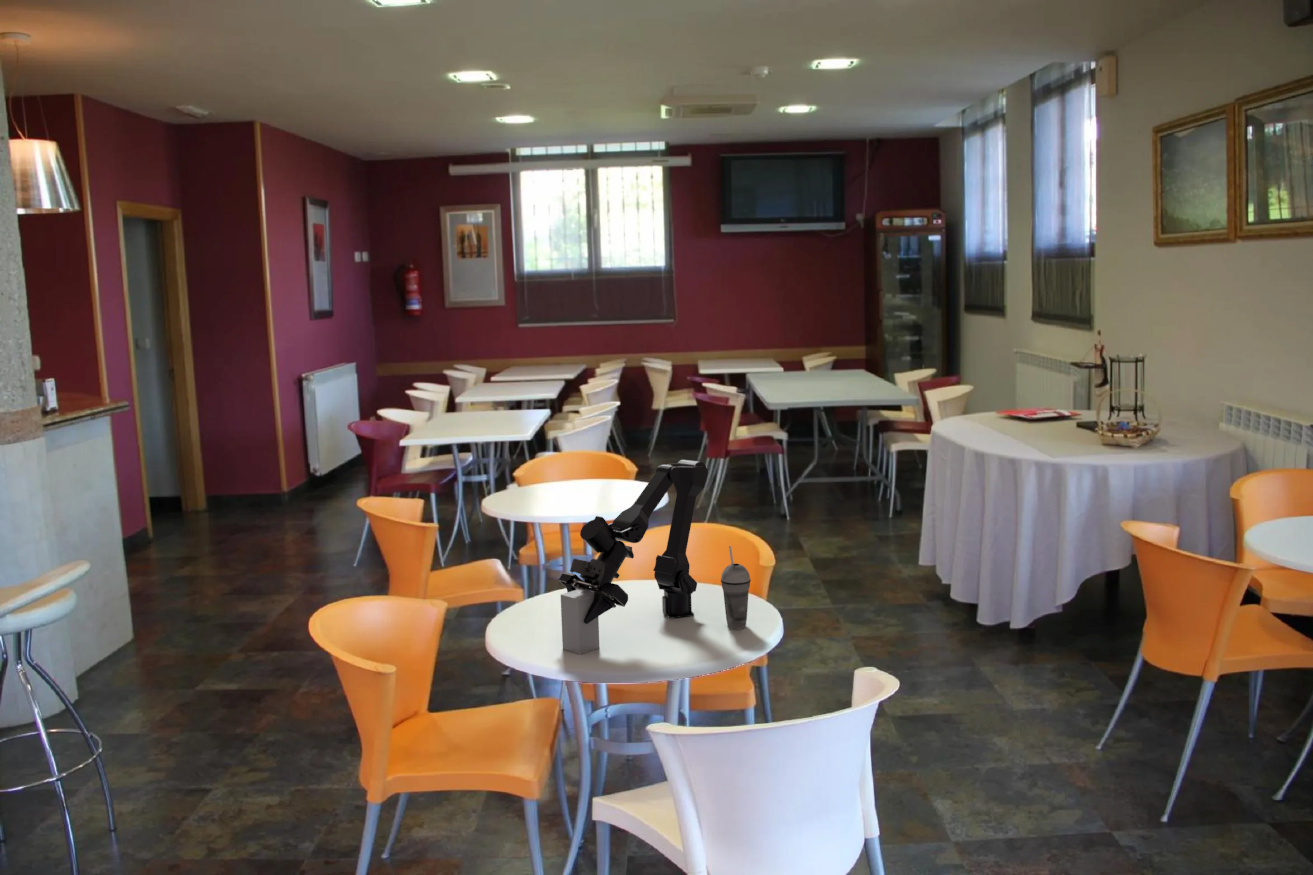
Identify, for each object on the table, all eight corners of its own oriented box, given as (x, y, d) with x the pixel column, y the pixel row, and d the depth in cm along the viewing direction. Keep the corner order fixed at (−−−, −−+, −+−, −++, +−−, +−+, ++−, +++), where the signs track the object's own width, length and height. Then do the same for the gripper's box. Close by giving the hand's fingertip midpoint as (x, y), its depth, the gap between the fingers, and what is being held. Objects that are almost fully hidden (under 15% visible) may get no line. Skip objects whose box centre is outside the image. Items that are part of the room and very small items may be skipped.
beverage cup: (749, 631, 258) (748, 550, 256) (719, 630, 260) (717, 549, 257) (753, 622, 266) (751, 542, 263) (723, 621, 267) (722, 542, 264)
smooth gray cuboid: (581, 641, 255) (580, 588, 253) (599, 647, 251) (597, 593, 249) (562, 648, 250) (560, 594, 248) (580, 654, 246) (578, 599, 244)
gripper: (562, 538, 256) (528, 594, 250) (617, 550, 243) (583, 609, 237) (588, 564, 263) (556, 619, 257) (643, 576, 250) (610, 635, 244)
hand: (575, 620), depth 248 cm, fingers closed on smooth gray cuboid, 6 cm apart
